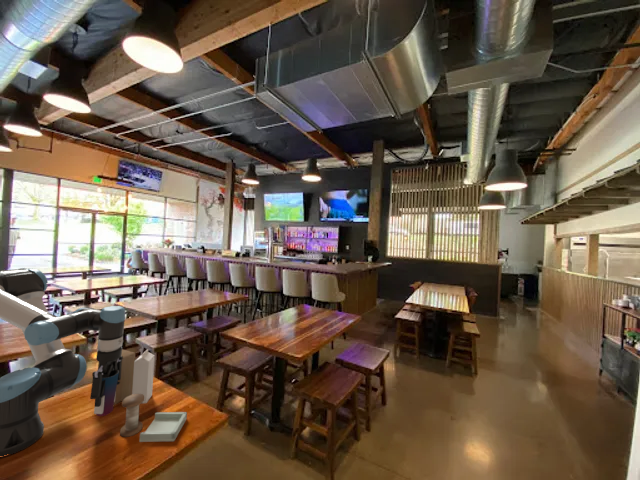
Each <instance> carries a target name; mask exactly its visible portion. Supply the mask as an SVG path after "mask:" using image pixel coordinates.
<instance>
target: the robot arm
mask: <svg viewBox="0 0 640 480" xmlns="http://www.w3.org/2000/svg"><path fill="white" fill-rule="evenodd" d="M47 289H48V278H47V276H46V275H45V274H44V273H43V271H41V270H39V269H37V268H25V267H24V268H23V267H22V268H17V269H5V270H0V319H1V320H2V321H5V322H7V323H8V324H10V325H12V326H14V327H16V328H18V329H20V330H21V332H22V334H23V336H24V339H25V341H26V342H27V345H28V347H29V349H30V352H31V354H32V357H34V360H35V363H34V364H33V365H32V366H31V367H27V368H26V367H25V368H23V369H18V370H14V371H11V372H9V373H7V374H5V375H3V376H1V377H0V456H4V455H7V454H12V455H14V454H17V453H18V451H19V452H21V451H23V450H25V449H27V448H29V447H30V446H32V445H33V444H35V443H36V442H37V441H39V440H40V438H42V436H43V435H44V432H45V431H44V429H45V425H44V424H45V423H44V422H43V421H41V416H40V414H39V403H40V402H43V401H44V400H47V399H48V398H50V397H53V396H54V395H57V394H59V393H61V392H64V391H65V390H68V389H70V388H72V387H74V386H75V385H76V384H79V383H80V382H81V381H82V380H83V379H84V377H85V375H86V372H87V367H88V366H87V362H86V361H87V360H86V359H85V357H84V356H83V355H81V354H79V353H78V354H77V353H75V354H74V352H73V351H72V349H69V348H65V346H64V344H63V342H62V340H61V339H64V338H66V337H70V336H73V335H76V334H79V333H82V332H85V331H88V330H89V331H95V332H98V337H97V348H96V349H97V351H96V360H97V362H100V365H99V369H98V368H97V370H96V371H92V382H91V388H90V390H91V391H90V396H89V397H90V400H94V409H93V410H94V411H93V414H94V415H96V414H102V413H103V410H104V399H105V396H103V394H104V390H105V380H104V381H102V378H107V377H111V376H114V375H115V373H116V370H119V375H118V380H120V379H121V366H122V359H123V356H121V355H122V349H123V343H124V331H125V328H124V327H125V320H126V308H125V307H123V306H121V305H117V306H116V305H110V306H105V307H103V308H102V309H98V308H97V309H96V308H94V307H80V308H76V310H74V311H72V313H69V314H65V315H61V316H56V315H54V314H52V313H50V312H49V311H48V309H47V307H46V305H45V302H44V301H43V297H44V296H45V291H46V290H47ZM105 374H107V375H105ZM119 384H120V382H118V381H117V385H119ZM115 396H116V393H115ZM114 402H115V399H114ZM20 450H21V451H20ZM16 452H17V453H16ZM13 453H14V454H13Z"/></svg>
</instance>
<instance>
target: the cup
mask: <svg viewBox="0 0 640 480" xmlns="http://www.w3.org/2000/svg"><path fill="white" fill-rule="evenodd" d="M105 375H107V374H105ZM118 375H119V370H116V373H115V375H114V376H111V377H107V378H102V381H104V380H105V390H104V394H103V396H105V399H104V410H103V413H102V414H95V415H96V416H98V417H104V416H108V415H109V414H111V413H112V412H113V411H114V406H115V405H114V399H115V393H116V387H117V381H118Z"/></svg>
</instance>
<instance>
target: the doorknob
mask: <svg viewBox="0 0 640 480" xmlns="http://www.w3.org/2000/svg"><path fill="white" fill-rule="evenodd" d="M143 401H144V395H143V394H133V395H130V396H127V397H126V398H124V399H123V400H122V401H121V406H122V407H123V408H126V409H125V410H126V412H125V424H124V425H123V426H122V427H121V428H120V430H119V435H120V436H121V437H123V438H129V437H133V436H134V435H136V434H137V435H138V433H141V432H142V429H143V422H142V421H140V420H139V415H140V405H141V404H143V403H142V402H143Z"/></svg>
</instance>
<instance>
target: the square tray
mask: <svg viewBox="0 0 640 480" xmlns="http://www.w3.org/2000/svg"><path fill="white" fill-rule="evenodd" d="M187 416H188V412H187V411H172V412H171V411H169V412H167V411H166V412H165V411H164V412H163V411H162V412H161V411H157V412H155V413H154V419H153V420H152V422H151V423H150V425H149V426H148V427H147V429H146V430H145V431H143V432H142V431H140V432H139V443H143V442H145V443H147V442H150V443H151V442H153V443H155V442H156V443H157V442H175V441H176V438H177V437H178V435H179V434H180V431H181V430H182V428H183V426H184V424H185V423H186V421H187V418H188V417H187Z"/></svg>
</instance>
